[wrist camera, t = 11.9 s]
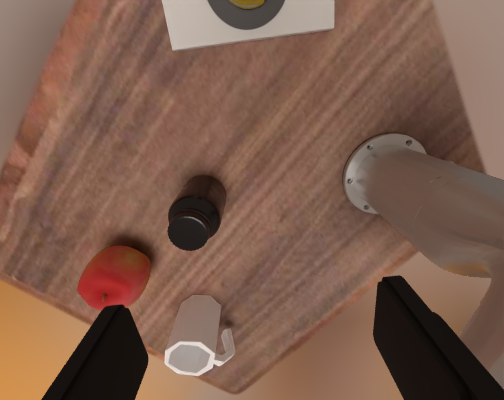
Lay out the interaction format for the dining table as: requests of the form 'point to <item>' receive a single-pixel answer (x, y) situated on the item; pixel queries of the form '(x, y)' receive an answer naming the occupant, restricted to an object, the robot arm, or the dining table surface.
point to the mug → (197, 337)
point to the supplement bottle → (196, 213)
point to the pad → (246, 14)
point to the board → (219, 33)
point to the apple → (114, 277)
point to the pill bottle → (247, 4)
